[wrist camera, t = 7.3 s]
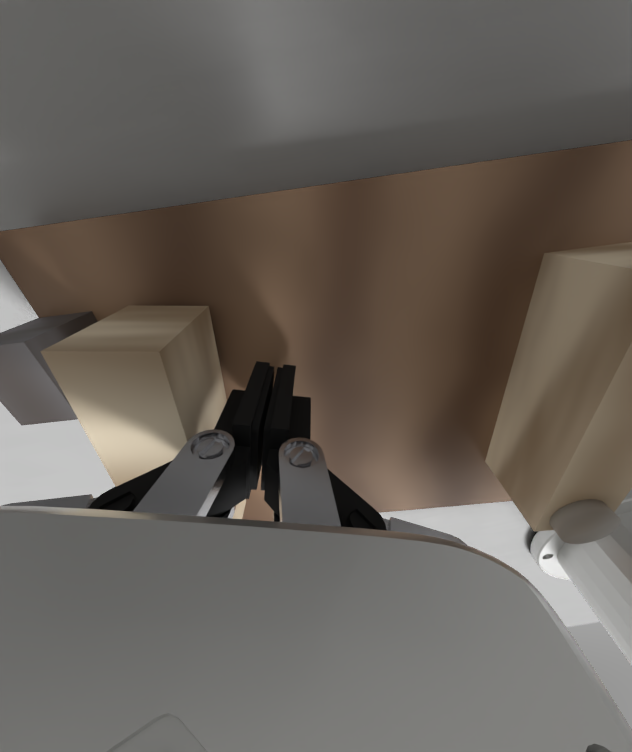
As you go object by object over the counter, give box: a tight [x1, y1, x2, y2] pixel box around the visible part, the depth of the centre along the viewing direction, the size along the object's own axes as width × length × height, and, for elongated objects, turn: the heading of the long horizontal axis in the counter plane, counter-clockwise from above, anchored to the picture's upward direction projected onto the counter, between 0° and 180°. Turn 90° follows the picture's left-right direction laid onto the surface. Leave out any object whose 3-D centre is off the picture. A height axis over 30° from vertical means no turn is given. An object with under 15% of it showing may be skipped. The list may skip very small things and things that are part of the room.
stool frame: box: [0, 140, 632, 544], centre depth 12 cm, size 24×18×7 cm
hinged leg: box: [40, 305, 246, 519], centre depth 12 cm, size 12×3×5 cm, turn 179°
